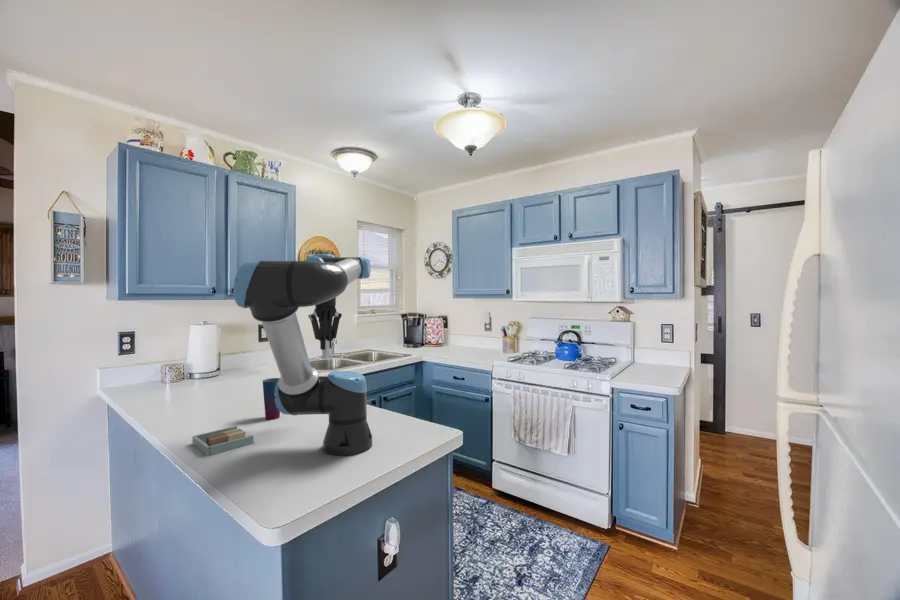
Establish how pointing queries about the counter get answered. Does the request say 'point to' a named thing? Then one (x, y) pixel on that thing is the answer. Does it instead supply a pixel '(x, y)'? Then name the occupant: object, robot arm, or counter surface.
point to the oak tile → (235, 434)
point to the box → (210, 450)
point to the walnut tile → (216, 439)
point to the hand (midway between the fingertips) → (325, 357)
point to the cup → (270, 399)
